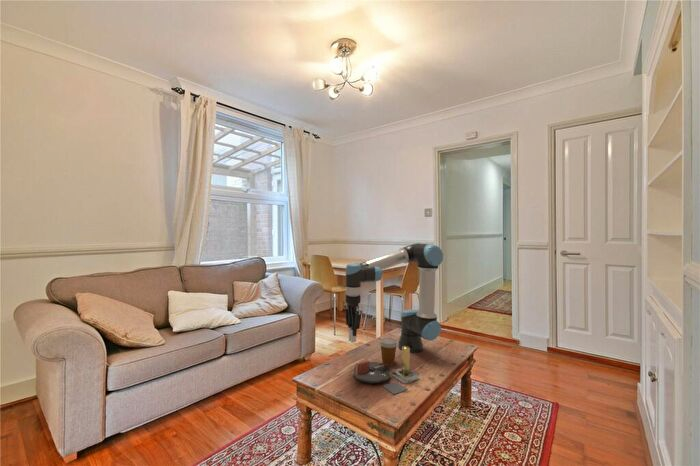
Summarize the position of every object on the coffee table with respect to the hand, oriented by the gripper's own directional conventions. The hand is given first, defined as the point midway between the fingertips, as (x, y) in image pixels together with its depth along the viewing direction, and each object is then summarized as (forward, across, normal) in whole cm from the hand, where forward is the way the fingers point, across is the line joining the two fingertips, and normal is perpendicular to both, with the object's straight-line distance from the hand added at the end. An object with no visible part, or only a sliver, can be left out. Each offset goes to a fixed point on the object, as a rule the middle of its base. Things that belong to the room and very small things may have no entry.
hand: (352, 341), depth 151 cm
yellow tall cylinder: (+16, +17, +20) cm, 31 cm away
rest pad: (+16, +22, +10) cm, 29 cm away
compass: (+15, +8, +7) cm, 18 cm away
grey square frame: (+16, +17, +20) cm, 31 cm away
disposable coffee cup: (+17, 0, +24) cm, 29 cm away
